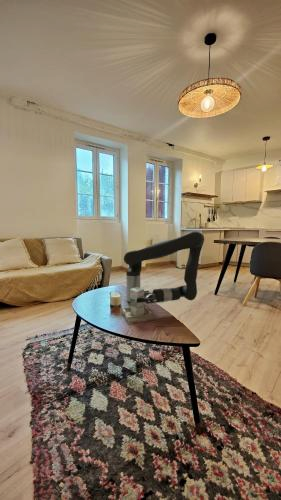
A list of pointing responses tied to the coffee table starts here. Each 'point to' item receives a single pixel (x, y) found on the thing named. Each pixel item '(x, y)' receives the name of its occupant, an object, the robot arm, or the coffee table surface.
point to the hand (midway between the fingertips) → (134, 298)
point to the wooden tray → (139, 318)
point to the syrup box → (134, 306)
